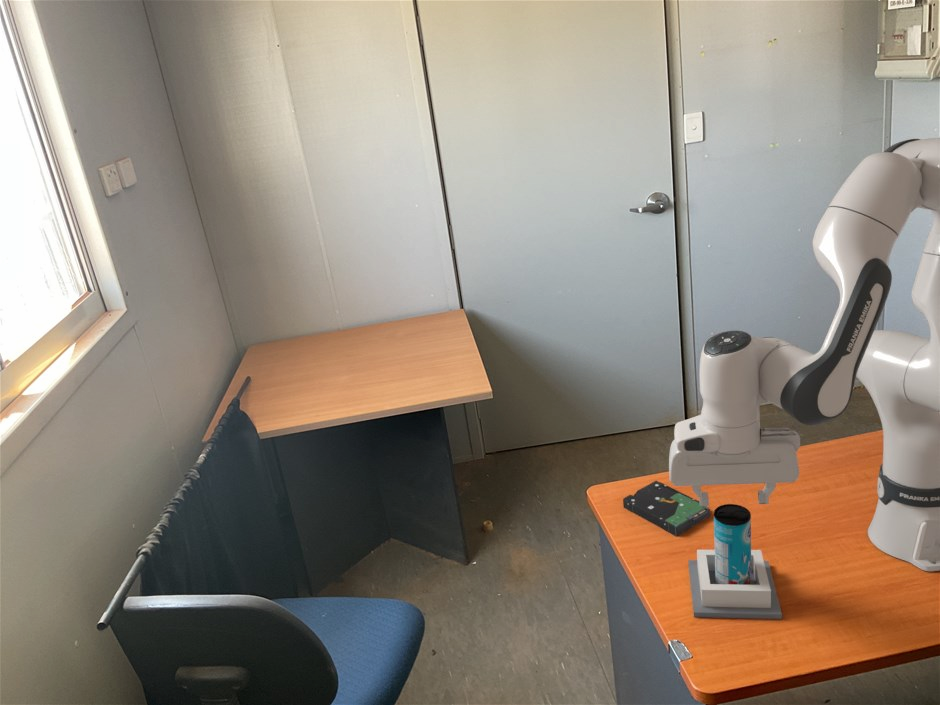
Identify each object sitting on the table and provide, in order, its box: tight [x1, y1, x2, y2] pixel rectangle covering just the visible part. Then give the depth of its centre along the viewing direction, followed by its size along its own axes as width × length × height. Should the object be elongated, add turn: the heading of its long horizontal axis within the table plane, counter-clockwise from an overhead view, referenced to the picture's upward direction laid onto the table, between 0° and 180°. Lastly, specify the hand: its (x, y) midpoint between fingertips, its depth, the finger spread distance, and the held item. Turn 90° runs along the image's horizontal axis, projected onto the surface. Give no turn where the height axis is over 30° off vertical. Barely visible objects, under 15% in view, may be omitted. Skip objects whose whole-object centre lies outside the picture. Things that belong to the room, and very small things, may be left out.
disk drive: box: [622, 480, 711, 537], centre depth 159 cm, size 10×3×15 cm
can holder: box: [687, 549, 783, 620], centre depth 134 cm, size 14×14×4 cm
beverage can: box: [713, 503, 752, 585], centre depth 132 cm, size 6×6×15 cm
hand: (733, 503), depth 128 cm, fingers open, 8 cm apart
